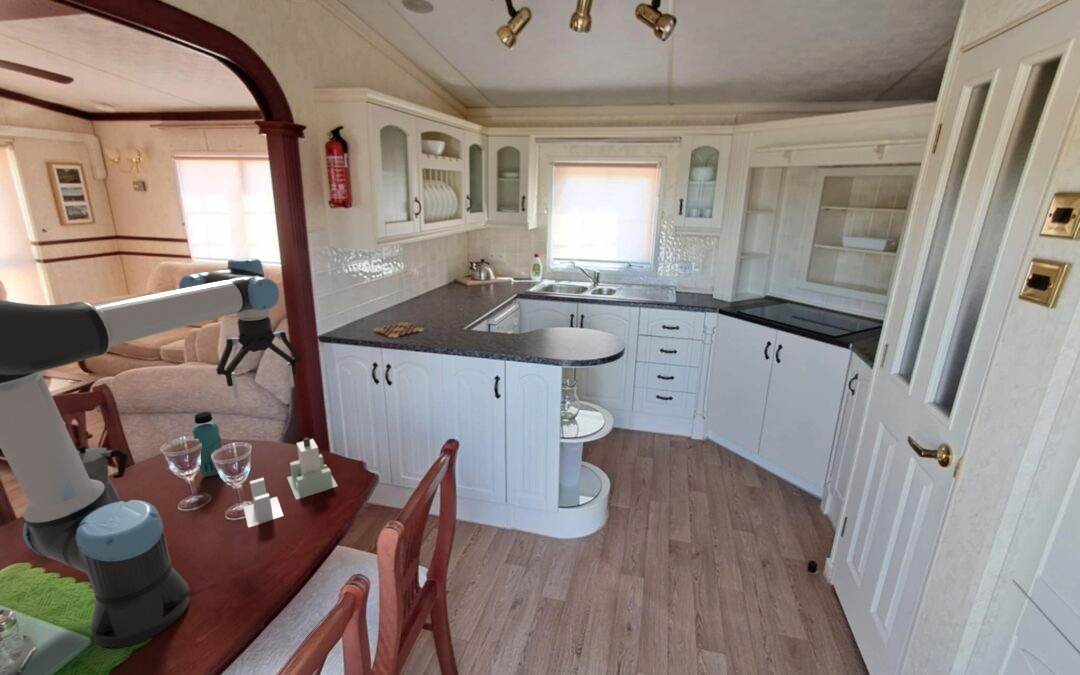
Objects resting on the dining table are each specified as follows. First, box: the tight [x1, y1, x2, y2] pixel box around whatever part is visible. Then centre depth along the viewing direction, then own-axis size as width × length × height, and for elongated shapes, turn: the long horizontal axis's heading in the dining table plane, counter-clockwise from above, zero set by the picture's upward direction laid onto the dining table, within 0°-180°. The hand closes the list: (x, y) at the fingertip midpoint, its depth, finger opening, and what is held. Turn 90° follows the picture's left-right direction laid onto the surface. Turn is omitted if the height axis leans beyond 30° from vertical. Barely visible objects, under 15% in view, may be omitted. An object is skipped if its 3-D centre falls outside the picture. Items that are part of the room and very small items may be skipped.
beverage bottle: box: [191, 411, 223, 477], centre depth 139 cm, size 6×7×20 cm
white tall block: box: [296, 437, 321, 476], centre depth 136 cm, size 6×4×14 cm
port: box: [286, 453, 338, 501], centre depth 137 cm, size 13×11×6 cm
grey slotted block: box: [243, 477, 284, 529], centre depth 124 cm, size 10×8×8 cm
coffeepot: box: [76, 444, 129, 503], centre depth 124 cm, size 15×9×18 cm, turn 110°
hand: (265, 390), depth 131 cm, fingers open, 13 cm apart
